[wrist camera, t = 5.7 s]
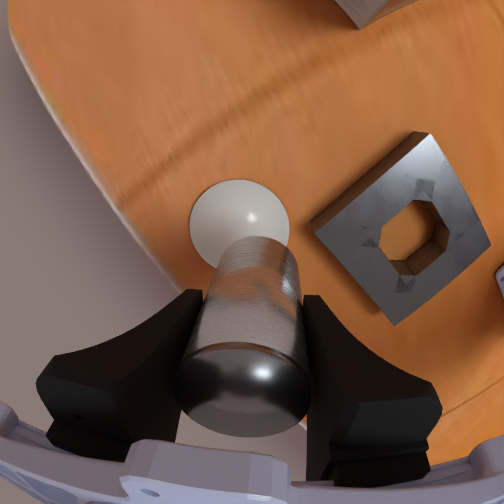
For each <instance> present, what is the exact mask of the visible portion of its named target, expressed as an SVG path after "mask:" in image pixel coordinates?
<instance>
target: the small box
mask: <svg viewBox="0 0 504 504" xmlns="http://www.w3.org/2000/svg"><path fill="white" fill-rule="evenodd" d="M335 1H336V2H337V3H338V5H339V6H340V7H341V8H342V9H343V10H344V11H345V12H346V14H347V15H348V16H349V17H350V18H351V19H352V21H353V22H354V23H355V24H356V25H357V27H358V28H359V29H362V28H364V27H366V26H367V25H369V24H371V23H373V22H374V21H376V20H378V19H380V18H381V17H383V16H385V15H387V14H389V13H391V12H393V11H395V10H398V9H400V8H402V7H404V6H406V5H409V4H411V3H413V2H415V1H417V0H335Z"/></svg>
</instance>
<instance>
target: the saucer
mask: <svg viewBox="0 0 504 504" xmlns="http://www.w3.org/2000/svg"><path fill="white" fill-rule="evenodd" d="M190 235H191V239H192V242H193V245H194V247H195V248H196V250H197V252H198V253H199V255H200V256H201V257H202V258H203V259H204V260H205V261H206V262H207V263H208V264H210V265H211V266H212V267H214V268H217V266H218V263H219V261H220V258H221V256H222V254H223V253H224V251H225V250H226V249H227V248H228V247H229V246H230V245H231V244H233V243H234V242H236V241H237V240H240V239H242V238H245V237H250V236H264V237H269V238H272V239H275V240H277V241H279V242H281V243H282V244H283V245H285V246H286V245H287V242H288V239H289V220H288V215H287V212H286V209H285V207H284V205H283V203H282V202H281V200H280V199H279V198H278V197H277V195H276V194H275V193H273V192H272V191H271V190H270V189H269V188H267V187H266V186H264V185H262V184H260V183H258V182H255V181H251V180H247V179H230V180H225V181H222V182H219V183H217V184H215V185H213V186H212V187H210V188H209V189H208V190H207V191H205V192H204V193H203V194H202V195H201V197H200V198H199V199H198V200H197V202H196V203H195V205H194V207H193V210H192V213H191V216H190Z"/></svg>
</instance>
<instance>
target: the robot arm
mask: <svg viewBox="0 0 504 504" xmlns="http://www.w3.org/2000/svg"><path fill="white" fill-rule="evenodd" d="M501 278H502V279H501ZM496 279H497V282H498V285H499V287H500V290H501V293H502V295H503V298H504V265H503V266H502V267H501V268H500V269H499V270H498V271H497V273H496ZM202 304H203V294H202V290H198V289H187V290H185V291H184V292H183V293H182V294H180V295H179V296H178V297H177V298H175V299H174V300H173V301H172V302H171V303H169V304H168V305H167V306H165V307H164V308H163V309H162V310H160V311H159V312H158V313H156V314H154V315H153V316H152V317H150V318H149V319H147V320H146V321H144V322H143V323H141V324H140V325H138V326H136V327H135V328H133V329H131V330H129V331H127V332H126V333H124V334H122V335H119V336H117V337H115V338H113V339H110V340H108V341H106V342H103V343H101V344H98V345H95V346H92V347H89V348H86V349H83V350H79V351H75V352H71V353H66V354H61V355H55V356H54V357H53V358H52V359H51V361H50V362H49V363H48V365H47V366H46V367H45V369H44V370H43V371H42V373H41V374H40V375H39V377H38V378H37V381H36V388H37V391H38V394H39V396H40V398H41V399H42V401H43V403H44V405H45V406H46V408H47V409H48V411H49V413H50V414H51V416H52V417H53V419H54V421H53V423H52V425H51V426H50V428H49V430H48V432H45V431H43V430H40V429H38V428H36V427H34V426H31V425H29V424H27V423H25V422H23V421H21V420H19V419H18V416H17V415H16V413H15V412H14V411H13V410H12V408H11V407H10V406H8V405H7V404H5V403H3V402H1V401H0V476H1V477H2V478H4V479H5V480H7V481H8V482H10V483H11V484H13V485H14V486H16V487H18V488H19V489H21V490H22V491H24V492H26V493H27V494H29V495H30V496H32V497H34V498H36V499H37V500H39V501H41V502H42V503H44V504H504V435H501V436H498V437H495V438H493V439H490V440H487V441H484V442H482V443H480V444H479V445H477V446H476V447H475V448H474V449H473V450H472V451H471V453H470V454H469V456H467V457H463V458H460V459H456V460H453V461H449V462H445V463H441V464H437V465H433V466H430V465H429V461H428V458H427V455H426V451H427V450H428V449H429V445H428V442H427V439H426V438H427V437H428V436H429V434H430V433H431V431H432V430H433V428H434V427H435V425H436V424H437V422H438V421H439V419H440V417H441V415H442V405H441V403H440V400H439V398H438V395H437V393H436V391H435V389H434V387H433V385H432V383H431V382H428V381H426V380H423V379H421V378H418V377H416V376H414V375H411V374H409V373H407V372H405V371H403V370H401V369H399V368H397V367H395V366H394V365H392V364H390V363H388V362H387V361H385V360H384V359H382V358H381V357H379V356H378V355H376V354H375V353H373V352H372V351H371V350H369V349H368V348H367V347H366V346H364V345H363V344H362V343H361V342H360V341H359V340H357V339H356V338H355V337H354V336H353V335H352V334H351V333H350V332H349V331H348V330H347V329H346V328H345V327H344V326H343V324H342V323H341V322H340V321H339V320H338V319H337V317H336V316H335V315H334V314H333V312H332V311H331V310H330V309H329V307H328V306H327V305H326V303H325V302H324V301H323V299H322V298H321V297H320V296H319V295H304V299H303V314H304V323H305V333H306V343H307V353H308V364H309V375H310V387H311V405H310V408H309V411H308V412H307V465H306V466H307V467H306V481H301V482H300V481H295V482H294V481H291V471H290V469H289V466H288V464H287V463H285V462H284V461H282V460H280V459H278V458H276V457H274V456H272V455H267V454H261V453H255V452H247V451H234V450H224V449H215V448H206V447H199V446H192V445H185V444H179V443H175V439H176V434H177V428H178V424H179V418H180V414H181V410H182V409H181V408H180V406H179V405H178V403H177V401H176V399H175V396H174V391H173V385H174V380H175V377H176V374H177V371H178V369H179V366H180V363H181V361H182V358H183V355H184V352H185V350H186V347H187V344H188V342H189V339H190V336H191V334H192V331H193V328H194V326H195V323H196V320H197V318H198V315H199V312H200V310H201V307H202Z"/></svg>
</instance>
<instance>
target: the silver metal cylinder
mask: <svg viewBox="0 0 504 504" xmlns="http://www.w3.org/2000/svg"><path fill="white" fill-rule="evenodd" d="M173 391H174V396H175V399H176V401H177V403H178V405H179V406H180V408H181V409H182V410H183V411H184V412H185V413H186V415H188V416H189V417H190V418H191V419H192V420H194V421H195V422H197V423H198V424H200V425H202V426H204V427H206V428H208V429H210V430H213V431H215V432H218V433H222V434H226V435H231V436H237V437H263V436H269V435H274V434H277V433H280V432H283V431H285V430H287V429H289V428H291V427H293V426H294V425H296V424H297V423H299V422H300V421H301V420H302V419H303V418H304V417H305V415H306V414H307V412H308V411H309V408H310V405H311V387H310V375H309V364H308V353H307V343H306V333H305V323H304V314H303V305H302V296H301V287H300V279H299V271H298V265H297V261H296V259H295V257H294V255H293V254H292V252H291V251H290V250H289V249H288V248H287V247H286V246H285V245H283V244H282V243H281V242H279V241H277V240H275V239H272V238H269V237H264V236H250V237H245V238H242V239H240V240H237V241H236V242H234V243H233V244H231V245H230V246H229V247H228V248H227V249H226V250H225V251H224V253H223V254H222V256H221V258H220V261H219V263H218V266H217V268H216V271H215V273H214V276H213V278H212V281H211V284H210V286H209V289H208V291H207V294H206V297H205V299H204V302H203V304H202V307H201V310H200V312H199V315H198V318H197V320H196V323H195V326H194V328H193V331H192V334H191V336H190V339H189V342H188V344H187V347H186V350H185V352H184V355H183V358H182V361H181V363H180V366H179V369H178V371H177V374H176V377H175V380H174V385H173Z"/></svg>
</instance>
